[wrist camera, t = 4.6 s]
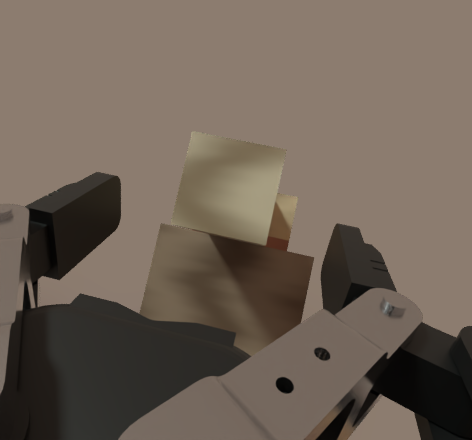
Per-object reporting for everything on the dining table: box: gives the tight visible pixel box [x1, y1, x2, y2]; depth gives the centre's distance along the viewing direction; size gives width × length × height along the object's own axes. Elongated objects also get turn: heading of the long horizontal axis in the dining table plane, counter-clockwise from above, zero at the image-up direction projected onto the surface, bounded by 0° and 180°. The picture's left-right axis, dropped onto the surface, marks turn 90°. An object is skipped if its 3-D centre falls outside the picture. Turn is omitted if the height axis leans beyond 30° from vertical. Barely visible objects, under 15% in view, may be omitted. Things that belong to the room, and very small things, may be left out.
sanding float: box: [171, 132, 298, 251], centre depth 23 cm, size 7×21×4 cm, turn 175°
